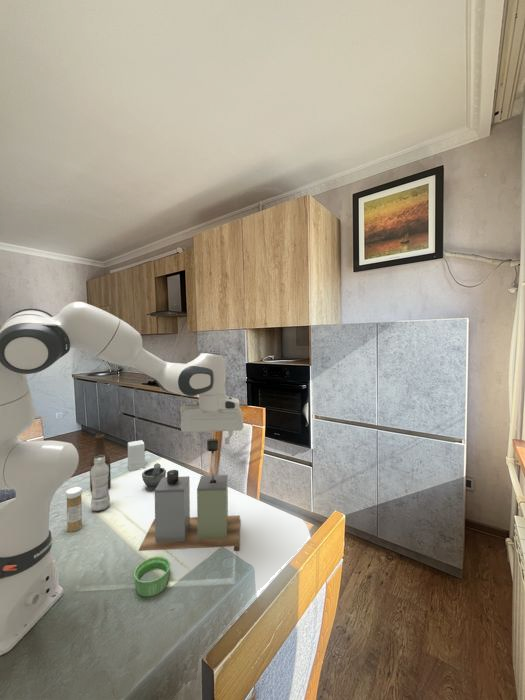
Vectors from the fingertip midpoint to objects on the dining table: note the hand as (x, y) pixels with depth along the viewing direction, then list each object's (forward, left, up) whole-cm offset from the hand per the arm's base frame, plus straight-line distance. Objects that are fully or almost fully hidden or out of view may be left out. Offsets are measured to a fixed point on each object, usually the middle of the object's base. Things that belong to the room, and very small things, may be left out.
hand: (212, 444), depth 97 cm
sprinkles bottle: (+7, +48, -31) cm, 57 cm away
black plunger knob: (0, 0, -19) cm, 19 cm away
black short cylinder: (0, +13, -29) cm, 32 cm away
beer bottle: (+34, +52, -31) cm, 69 cm away
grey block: (0, +13, -29) cm, 32 cm away
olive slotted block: (0, 0, -29) cm, 29 cm away
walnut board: (0, +7, -30) cm, 31 cm away
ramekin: (-19, +14, -31) cm, 39 cm away
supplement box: (+57, +45, -31) cm, 79 cm away
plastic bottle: (+19, +45, -31) cm, 58 cm away
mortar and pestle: (+34, +29, -31) cm, 54 cm away
